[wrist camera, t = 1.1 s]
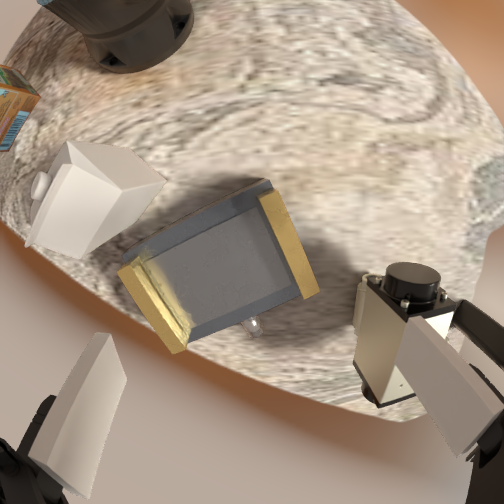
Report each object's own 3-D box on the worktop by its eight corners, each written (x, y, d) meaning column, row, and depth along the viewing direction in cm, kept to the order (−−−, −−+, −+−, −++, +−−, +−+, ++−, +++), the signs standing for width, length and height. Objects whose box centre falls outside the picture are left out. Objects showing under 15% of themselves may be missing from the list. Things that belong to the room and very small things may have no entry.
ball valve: (379, 340, 42) (430, 408, 25) (336, 349, 42) (378, 428, 25) (396, 242, 37) (478, 289, 20) (347, 245, 36) (423, 302, 20)
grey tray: (134, 244, 34) (111, 264, 27) (263, 178, 33) (273, 181, 25) (199, 345, 40) (194, 380, 32) (314, 295, 38) (333, 324, 31)
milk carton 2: (168, 181, 32) (98, 197, 14) (135, 223, 33) (54, 278, 15) (129, 147, 30) (36, 136, 12) (99, 190, 32) (0, 217, 13)
